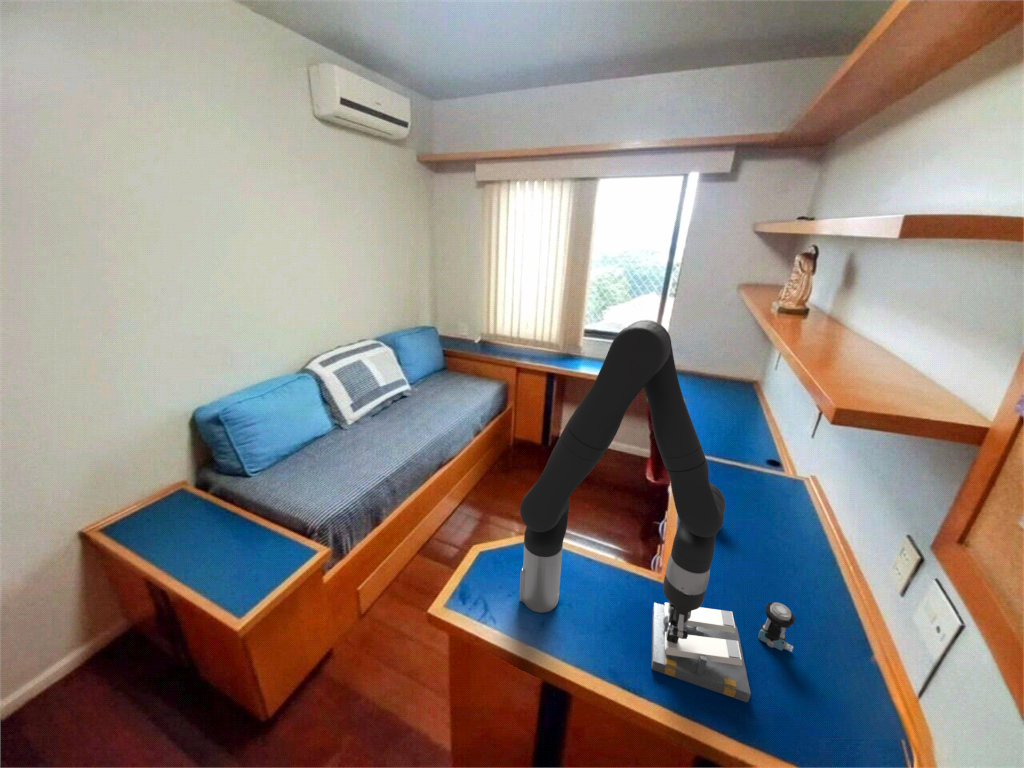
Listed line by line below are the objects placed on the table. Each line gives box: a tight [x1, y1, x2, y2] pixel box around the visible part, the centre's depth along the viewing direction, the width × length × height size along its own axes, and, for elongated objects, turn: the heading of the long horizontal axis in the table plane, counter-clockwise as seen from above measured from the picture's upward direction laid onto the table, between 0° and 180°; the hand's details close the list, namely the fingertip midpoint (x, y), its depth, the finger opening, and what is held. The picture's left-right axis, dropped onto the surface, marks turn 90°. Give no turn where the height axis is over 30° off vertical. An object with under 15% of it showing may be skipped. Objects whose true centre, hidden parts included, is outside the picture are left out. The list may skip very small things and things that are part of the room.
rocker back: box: [664, 602, 736, 633], centre depth 86 cm, size 14×4×2 cm, turn 70°
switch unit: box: [651, 602, 752, 703], centre depth 84 cm, size 18×15×7 cm
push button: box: [757, 601, 796, 653], centre depth 85 cm, size 7×5×10 cm
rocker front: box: [665, 632, 742, 666], centre depth 80 cm, size 14×4×2 cm, turn 69°
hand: (671, 639), depth 82 cm, fingers closed
